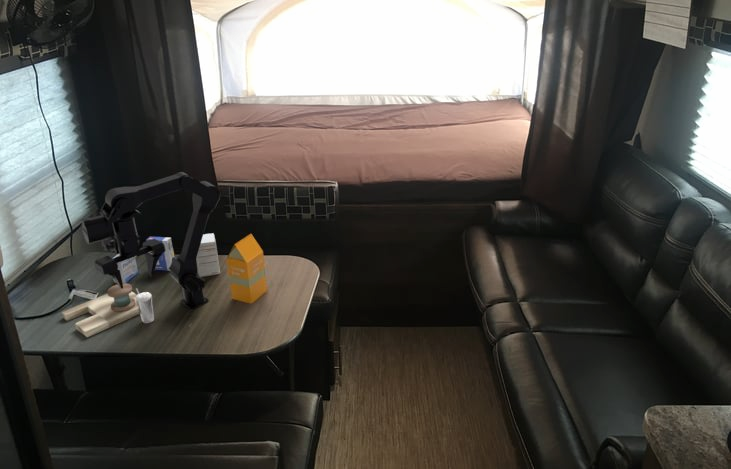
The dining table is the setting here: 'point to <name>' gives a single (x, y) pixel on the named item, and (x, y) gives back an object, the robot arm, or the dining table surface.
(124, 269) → the medicine box
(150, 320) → the milkshake
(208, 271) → the supplement box
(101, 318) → the board
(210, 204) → the robot arm
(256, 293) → the orange juice
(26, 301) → the dining table surface
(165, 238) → the walkman
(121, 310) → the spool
